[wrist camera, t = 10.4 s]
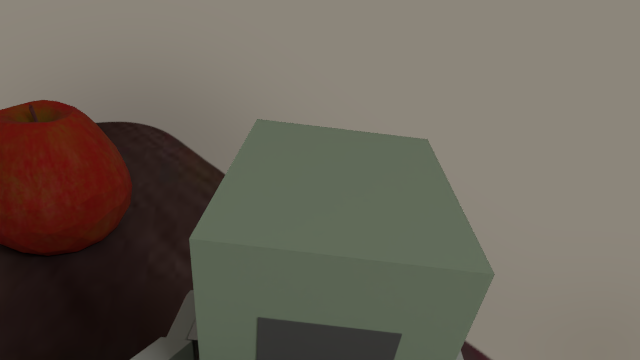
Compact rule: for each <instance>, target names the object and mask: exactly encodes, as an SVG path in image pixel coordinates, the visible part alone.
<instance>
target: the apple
mask: <svg viewBox="0 0 640 360" xmlns="http://www.w3.org/2000/svg"><path fill="white" fill-rule="evenodd" d="M131 191H132V183H131V179H130V175H129V171H128V169H127V167H126V165H125V162H124V161H123V159H122V157H121V155H120V153H119V151H118V150H117V148H116V146H115V145H114V144H113V143H112V142H111V141H110V139H109V138H108V137H107V136H106V135H105V134H104V132H103V131H102V130H101V129H100V128H99V126H98V125H97V124H96V123H95V122H93V121H92V120H91V119H90V118H89V117H88V116H87V115H86V114H84V113H83V112H81V111H80V110H78V109H77V108H75V107H73V106H70V105H67V104H63V103H60V102H56V101H48V100H40V101H33V102H28V103H24V104H20V105H17V106H13V107H10V108H6V109H2V110H0V244H1V245H4V246H6V247H9V248H12V249H15V250H17V251H20V252H23V253H31V254H38V255H46V256H50V255H57V254H64V253H71V252H78V251H80V250H82V249H84V248H86V247H89V246H91V245H93V244H95V243H97V242H99V241H102V240H103V239H104V238H105V237H106V236H107V235H109V234H110V233H111V232H112V231H113V230H114V229H115V228H117V226H118V224H119V223H120V221H121V219H122V217H123V216H124V214H125V212H126V210H127V209H128V207H129V205H130V201H131Z"/></svg>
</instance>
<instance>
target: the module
mask: <svg viewBox="0 0 640 360" xmlns="http://www.w3.org/2000/svg"><path fill="white" fill-rule="evenodd" d="M189 241H190V252H191V264H192V276H193V288H194V300H195V311H196V323H197V335H198V347H199V358H200V360H456V359H457V356H458V354H459V352H460V350H461V348H462V345H463V343H464V341H465V339H466V336H467V334H468V332H469V330H470V328H471V325H472V323H473V321H474V319H475V317H476V314H477V312H478V310H479V308H480V305H481V303H482V301H483V299H484V297H485V294H486V292H487V290H488V288H489V286H490V283H491V281H492V279H493V277H494V272H493V270H492V268H491V266H490V264H489V262H488V260H487V258H486V256H485V254H484V252H483V250H482V248H481V246H480V244H479V242H478V240H477V238H476V236H475V234H474V232H473V230H472V228H471V226H470V224H469V222H468V220H467V218H466V216H465V214H464V212H463V210H462V208H461V206H460V204H459V202H458V200H457V198H456V196H455V194H454V192H453V190H452V188H451V186H450V184H449V182H448V180H447V178H446V176H445V174H444V172H443V170H442V168H441V166H440V164H439V162H438V160H437V158H436V156H435V154H434V152H433V150H432V148H431V146H430V144H429V141H428V140H427V139H420V138H411V137H402V136H395V135H386V134H378V133H370V132H361V131H353V130H344V129H336V128H327V127H319V126H310V125H302V124H294V123H286V122H276V121H269V120H260V119H257V121H256V122H255V124H254V126H253V128H252V129H251V131H250V133H249V135H248V136H247V138H246V140H245V142H244V143H243V145H242V147H241V149H240V150H239V152H238V154H237V156H236V157H235V159H234V161H233V163H232V164H231V166H230V168H229V170H228V172H227V173H226V175H225V177H224V179H223V180H222V182H221V184H220V186H219V187H218V189H217V191H216V193H215V194H214V196H213V198H212V200H211V201H210V203H209V205H208V207H207V208H206V210H205V212H204V214H203V215H202V217H201V219H200V221H199V223H198V224H197V226H196V228H195V230H194V231H193V233H192V235H191V237H190V238H189Z"/></svg>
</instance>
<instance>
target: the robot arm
mask: <svg viewBox="0 0 640 360" xmlns="http://www.w3.org/2000/svg"><path fill="white" fill-rule="evenodd" d="M130 360H200V358H199V347H198V335H197V323H196V311H195V300H194V290H190V292H189V293H188V294H187V295H186V297H185V299H184V301H183V303H182V306H181V308H180V310H179V312H178V314H177V316H176V318H175V320H174V322H173V324H172V326H171V328H170V331H169V333H168V335H167V337H160V338H159V339H158V340H156V341H155V342H153V343H152V344H151V345H149V346H148V347H147V348H145V349H144V350H142V351H141V352H140V353H138V354H137V355H136V356H134V357H133V358H131V359H130ZM456 360H464V359H463V356H462V353H461V350H460V352H459V354H458V356H457V359H456Z"/></svg>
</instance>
